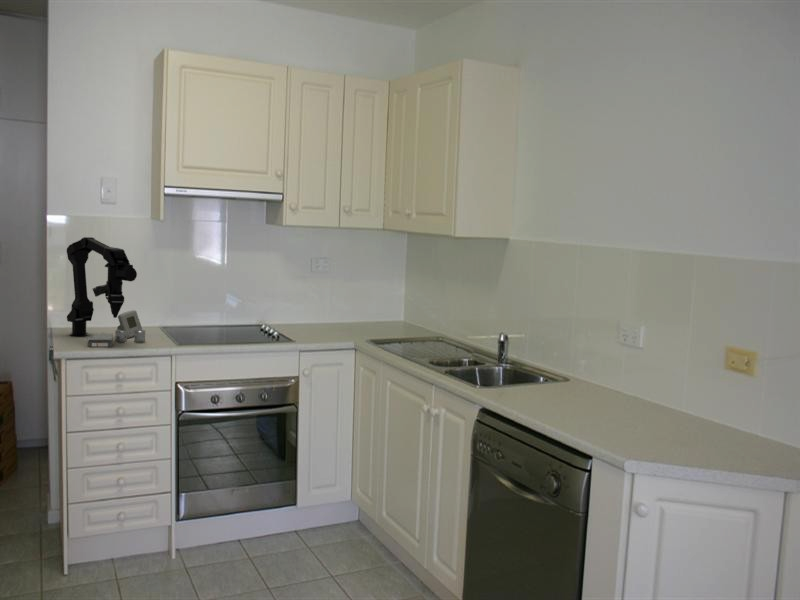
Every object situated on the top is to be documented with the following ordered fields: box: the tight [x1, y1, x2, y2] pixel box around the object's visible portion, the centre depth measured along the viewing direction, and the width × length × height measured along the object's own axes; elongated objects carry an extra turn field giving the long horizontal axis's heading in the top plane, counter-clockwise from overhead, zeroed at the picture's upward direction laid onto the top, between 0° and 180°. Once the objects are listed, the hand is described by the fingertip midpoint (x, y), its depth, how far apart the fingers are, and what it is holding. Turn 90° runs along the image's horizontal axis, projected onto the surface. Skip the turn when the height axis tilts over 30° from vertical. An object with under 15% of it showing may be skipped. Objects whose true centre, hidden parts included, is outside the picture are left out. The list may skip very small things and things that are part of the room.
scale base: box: [87, 337, 114, 348], centre depth 304 cm, size 10×9×2 cm
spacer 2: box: [133, 329, 146, 344], centre depth 315 cm, size 4×4×5 cm
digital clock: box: [116, 309, 143, 339], centre depth 329 cm, size 16×9×11 cm, turn 166°
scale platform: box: [87, 332, 113, 341], centre depth 304 cm, size 10×9×1 cm
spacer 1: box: [114, 329, 128, 344], centre depth 313 cm, size 4×4×5 cm
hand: (114, 315), depth 309 cm, fingers open, 9 cm apart
